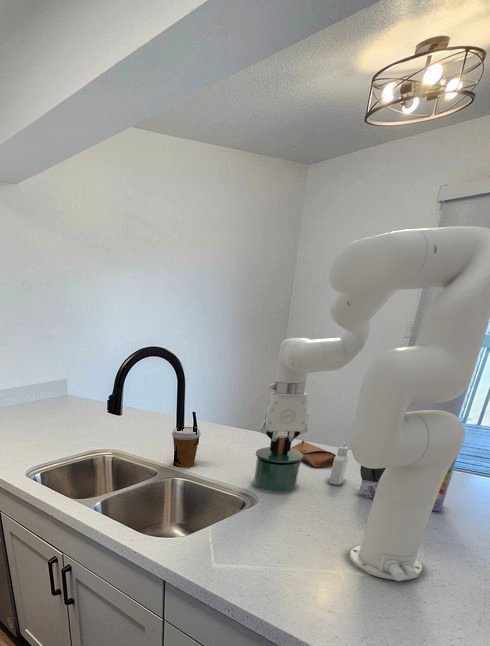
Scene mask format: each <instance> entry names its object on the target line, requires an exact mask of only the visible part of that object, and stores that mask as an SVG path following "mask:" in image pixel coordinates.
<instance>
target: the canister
mask: <svg viewBox="0 0 490 646" xmlns="http://www.w3.org/2000/svg"><path fill="white" fill-rule="evenodd" d="M301 462H302V461H301V460H300V461H297V462H291V463H277V462H270V461H266V460H262V459H260V458H258V457H257V456H256V464H255V471H254V479H253V485H254V487H255V488H256V489H262V490H264V491H270V492H282V493H283V492H288V491H292V490H295V489H296V486H297V481H298V476H299V470H300V466H301Z"/></svg>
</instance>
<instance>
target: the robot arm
mask: <svg viewBox="0 0 490 646" xmlns="http://www.w3.org/2000/svg"><path fill="white" fill-rule="evenodd" d="M328 278H329V284H330V286H331V288H332V289H333V290H334V291H336V292H337V295H336V296H335V297H334V299H333V300H332V302H331V303H330V304H331V305H330V306H329V307H330V308H329V310H330V311H329V312H330V313H329V314H330V316H331V318H332V320H333V321H334V322H335V324H336V325H338V326H339V327H341V328H342V329H344V331H343V332H342V333H341V334H340V335H338V336H337V337H330V338H329V337H328V338H318V339H311V338H307V337H289V338H286V339H284V340H283V341H282V342H281V343H280V348H279V354H278V361H277V368H276V375H275V380H274V382H273V383H269V384H268V389H269V390H271V391H272V390H273V392H271V393H270V396H269V398H268V402H267V405H266V410H265V415H264V420H263V422H262V424H261V425H260V426H259V428H258V431H259V432H260V433H261V434H263V435H266V436H267V438H269V439H270V446H269V447H270V451H271V452H272V454H273V455H276V451H277V445H278V442H277V436H278V433H279V432H284V433H285V432H287V433H286V443H285V449H284V455H287V454H288V451H290V448H291V447H292V442H293V441H294V440H295V439H296V438H297V437H298V436H300V435H302V434H305V433H307V432H308V431H309V430H308V427H307V417H308V416H307V415H308V402H309V401H308V400H309V399H308V398H309V397H308V395H309V394H308V393H307V392H305V391H306V385H307V379H308V374H309V373H319V372H331V371H337V370H340V369H342V368H344V367H346V366H347V365H348V364H349V363H350V362H351V361H353V360H354V359H355V358H356V356H358V354H360V353H361V351H363V349H364V347H365V346H366V343H367V341H368V338H369V334H370V331H371V324H370V320H371V319H372V318H374V316H375V315H376V314H377V313H378V312H379V311H380V309H382V308H383V307H384V305H385V304H386V303H387V302H388V301H389V300H390V299H391V298H392V297H393V296H394V295H395V294H396V293H397V291H400V290H401V291H402V290H403V291H404V290H417V289H419V290H420V289H428V288H441V289H443V290H442V291H441V292H440V293H439V294H438V295H437V296H436V297H435V298H434V299H433V301H432V302H431V303H430V304H429V307H428V308H427V310H426V311H425V313H424V315H423V317H422V319H421V323H420V327H419V333H418V336H417V339H416V342H415V344H414V346H403V347H396V348H392V349H388V350H386V351H384V352H382V353H380V354H379V355H377V356H376V358H375V359H373V361H372V362H371V364H370V365H369V366H368V368H367V370H366V372H365V373H364V376H363V379H362V383H361V388H360V393H359V397H358V402H357V407H356V412H355V417H354V423H353V428H352V433H351V442H350V443H351V453H352V456H353V458H354V460H355V461H356V463H357V464H358V465H360V467H361V466H363V467H366V468H372V469H378V468H386V469H385V471H384V472H383V474H382V476H381V478H380V480H379V482H378V485H377V489H376V492H375V496H374V499H373V498H372V504H371V507H370V510H369V514H368V518H367V520H366V521H367V522H366V525H365V529H364V533H363V536H362V540H361V544H359V545H356V546H354V547H353V548H352V549H350V551H349V559H350V561H351V562H352V563H353V564H354V565H355V566H356V567H358V568H359V569H361V570H363V571H364V572H365V573H367V574H369V575H371V576H374V577H377V578H381V579H384V580H385V579H386V580H391V581H397V582H402V581H407V580H412V579H416V578H418V577H419V576H420V574H421V573H422V571H423V564H422V563H421V561H420V560H419V559H418V558H417V556H418V553H419V550H420V547H421V544H422V541H423V538H424V535H425V532H426V529H427V526H428V524H429V520H430V517H431V516H432V513H433V510H432V509H433V507H434V504H435V501H436V499H437V496H438V493H439V490H440V487H441V485H442V482H443V480H444V478H445V476H446V474H447V472H448V470H449V468H450V466H451V465H452V463H453V462H454V460H455V458H456V457H457V458H458V456H457V455H459V453H460V451H462V450H461V449H462V448H463V445H464V442H465V439H466V438H465V437H466V429H465V425H464V423H463V422H462V419H460V418H459V416H457V415H456V414H454V413H452V412H449V411H445V410H440V409H425V410H414V411H408V410H407V409H408V407H409V406H410V407H411V406H420V405H431V404H438V403H444V402H449V401H452V400H455V399H457V398H459V397H460V396H461V395H463V394H464V393H465V392H466V390H467V388H468V387H469V384H470V382H471V380H472V377H473V374H474V372H475V368H476V364H477V361H478V357H479V354H480V352H481V351H480V350H481V347H482V344H483V340H484V337H485V334H486V330H487V327H488V322H489V319H490V228H488V227H483V226H474V225H471V226H470V225H460V226H459V225H457V226H443V227H428V228H411V229H399V230H395V231H394V230H393V231H389V232H385V233H381V234H378V235H372V236H369V237H365V238H360V239H356V240H352V241H350V242H349V243H348V244H347V245H345V246H344V247H343V248H342V249H341V250H340V251H339V252H338V253H337V255H336V256H335V258H334V260H333V261H332V263H331V267H330V270H329V277H328Z"/></svg>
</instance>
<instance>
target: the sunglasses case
mask: <svg viewBox="0 0 490 646" xmlns="http://www.w3.org/2000/svg"><path fill="white" fill-rule="evenodd" d="M290 449H294V450H297V451H299V452H301V453H302V454H303V458H302V459H301V461H300V462H303V463H304V464H307V465H309V466H311V467H314V468H329V467H331V468H332V466H333V462H334V458H335V456H336V455H337V454H336V453H333V452H331V451H327V450H326V449H323V448H321V447H319V446H316V445H314V444H311V443H309V442H307V441H305V440H303V439H302V440H301V441H300V442H298V443H296V444H295V445H294V446H291V448H290Z"/></svg>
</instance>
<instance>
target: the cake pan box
mask: <svg viewBox="0 0 490 646" xmlns="http://www.w3.org/2000/svg"><path fill="white" fill-rule="evenodd" d="M458 455H459V454H458ZM458 455H457V457H456V458H455V460H454V462H453V463H452V465H451V466H450V468H449V470H448V472H447V474H446V476H445V478H444V480H443V482H442V485H441V487H440V490H439V493H438V496H437V499H436V501H435V504H434V507H433V509H432V511H435V512H440V511H441V509H442V507H443V505H444V501H445V498H446V495H447V491H448V489H449V485H450V482H451V480H452V476H453V472H454V469H455V466H456V463H457V462H456V461H457V458H458ZM385 469H386V468H378V469H372V468H366V467H363V466H361V465H360V469H359V470H360V477H361V484H360V489H359V491H358V494H359V495H362V496H366V497H367V498H369V499H372V500H373V499H374V496H375V492H376V489H377V485H378V482H379V480H380V478H381V476H382V474H383V472H384V471H385Z"/></svg>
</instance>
